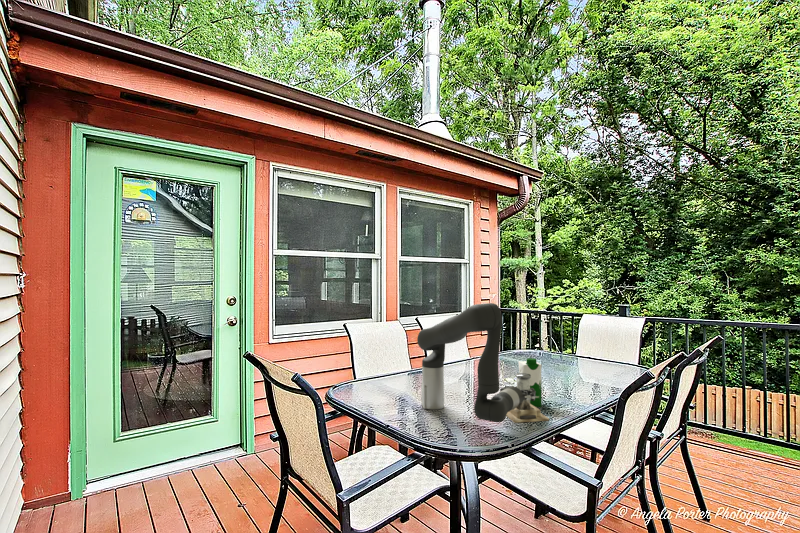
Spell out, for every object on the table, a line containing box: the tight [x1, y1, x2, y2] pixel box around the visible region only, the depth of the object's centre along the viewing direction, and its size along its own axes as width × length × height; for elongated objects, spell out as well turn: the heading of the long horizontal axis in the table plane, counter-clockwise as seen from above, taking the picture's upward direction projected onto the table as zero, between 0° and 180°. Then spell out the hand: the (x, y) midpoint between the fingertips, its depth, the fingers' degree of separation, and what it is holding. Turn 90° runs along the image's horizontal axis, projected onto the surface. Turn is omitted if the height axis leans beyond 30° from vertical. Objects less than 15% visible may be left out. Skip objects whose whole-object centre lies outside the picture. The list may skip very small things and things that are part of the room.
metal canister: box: [515, 372, 531, 410], centre depth 163 cm, size 6×6×14 cm
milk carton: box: [518, 357, 543, 408], centre depth 178 cm, size 9×9×20 cm
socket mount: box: [506, 404, 550, 424], centre depth 163 cm, size 14×14×3 cm
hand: (525, 389), depth 166 cm, fingers closed on metal canister, 5 cm apart
